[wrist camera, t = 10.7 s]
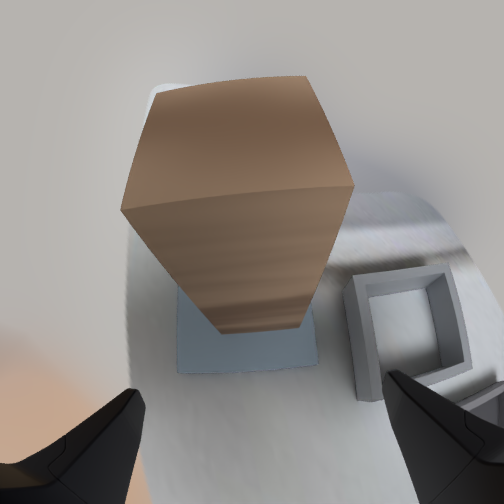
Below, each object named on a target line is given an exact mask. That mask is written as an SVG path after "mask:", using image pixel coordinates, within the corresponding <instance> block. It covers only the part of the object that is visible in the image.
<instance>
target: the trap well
mask: <svg viewBox="0 0 504 504" xmlns="http://www.w3.org/2000/svg"><path fill="white" fill-rule="evenodd" d="M455 404H457V405H458V406H460V407H462V408H463V409H464V410H467V411H469V412H471V413H472V414H474V415H476V416H478V417H480V418H482V419H484V420H486V421H488V422H491V423H493V424H495V425H498V426H500V427H503V428H504V381H500V382H497V383H495V384H493V385H491V386H489V387H487V388H485V389H484V390H482V391H480V392H478V393H476V394H474V395H472V396H470V397H468V398H465V399H463V400H461V401H459V402H457V403H455Z"/></svg>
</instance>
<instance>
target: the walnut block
mask: <svg viewBox="0 0 504 504" xmlns="http://www.w3.org/2000/svg"><path fill="white" fill-rule="evenodd" d="M353 189H354V183H353V180H352V178H351V175H350V172H349V170H348V167H347V164H346V162H345V159H344V157H343V154H342V152H341V150H340V147H339V145H338V142H337V140H336V138H335V135H334V133H333V131H332V129H331V126H330V124H329V122H328V120H327V118H326V116H325V113H324V111H323V109H322V107H321V105H320V103H319V101H318V99H317V97H316V95H315V93H314V91H313V89H312V87H311V85H310V83H309V81H308V79H307V77H306V76H284V77H263V78H251V79H239V80H230V81H222V82H214V83H207V84H201V85H195V86H189V87H184V88H179V89H174V90H169V91H165V92H160V93H156V96H155V98H154V101H153V104H152V106H151V109H150V111H149V114H148V117H147V120H146V123H145V125H144V128H143V131H142V134H141V137H140V140H139V143H138V147H137V150H136V153H135V156H134V160H133V163H132V167H131V170H130V173H129V177H128V181H127V185H126V189H125V193H124V196H123V201H122V205H121V212H122V213H123V214H124V216H125V217H126V218H127V220H128V221H129V223H130V224H131V225H132V227H133V228H134V229H135V231H136V232H137V233H138V235H139V236H140V237H141V239H142V240H143V241H144V243H145V244H146V245H147V247H148V248H149V249H150V250H151V252H152V253H153V254H154V256H155V257H156V258H157V259H158V261H159V262H160V263H161V264H162V266H163V267H164V268H165V269H166V271H167V272H168V273H169V274H170V276H171V277H172V278H173V279H174V280H175V282H176V283H177V284H178V285H179V286H180V288H181V289H182V290H183V291H184V292H185V294H186V295H187V296H188V297H189V298H190V299H191V301H192V302H193V303H194V304H195V305H196V306H197V308H198V309H199V310H200V311H201V312H202V313H203V314H204V316H205V317H206V318H207V319H208V320H209V321H210V322H211V323H212V325H213V326H214V327H215V328H216V329H217V330H218V331H219V332H220V333H221V335H223V334H239V333H252V332H264V331H274V330H284V329H294V328H299V327H300V325H301V323H302V321H303V318H304V316H305V314H306V312H307V309H308V307H309V305H310V302H311V300H312V298H313V295H314V293H315V290H316V288H317V286H318V283H319V281H320V278H321V276H322V273H323V271H324V268H325V266H326V263H327V261H328V258H329V256H330V253H331V250H332V248H333V245H334V243H335V240H336V237H337V235H338V232H339V229H340V226H341V224H342V221H343V218H344V215H345V212H346V209H347V207H348V204H349V201H350V198H351V195H352V192H353Z"/></svg>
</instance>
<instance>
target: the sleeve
mask: <svg viewBox="0 0 504 504" xmlns="http://www.w3.org/2000/svg"><path fill="white" fill-rule="evenodd" d="M422 288H426V290H427V294H428V298H429V302H430V306H431V310H432V315H433V319H434V324H435V329H436V334H437V339H438V345H439V351H440V357H441V364H442V368H439V369H436V370H433V371H430V372H427V373H424V374H420V375H417V376H414V377H411V378H412V379H414V380H416V381H417V382H419V383H421V384H423V385H424V386H429V385H432V384H435V383H438V382H441V381H443V380H446V379H449V378H451V377H454V376H456V375H459V374H461V373H464V372H466V371H468V370H471V369H473V367H472V360H471V353H470V347H469V341H468V336H467V331H466V326H465V321H464V317H463V312H462V308H461V304H460V300H459V296H458V293H457V289H456V285H455V282H454V279H453V275H452V272H451V269H450V266H449V263H442V264H435V265H428V266H421V267H414V268H407V269H399V270H392V271H384V272H376V273H368V274H360V275H353V276H352V277H351V279H350V280H349V282H348V283H347V285H346V286H345V288H344V289H343V291H342V294H343V300H344V305H345V311H346V317H347V323H348V330H349V336H350V343H351V350H352V358H353V365H354V374H355V383H356V392H357V401H367V402H375V401H379V400H383V399H384V397H383V393H382V382H381V374H380V366H379V359H378V352H377V345H376V339H375V333H374V327H373V321H372V316H371V311H370V305H369V300H368V297H374V296H380V295H387V294H393V293H399V292H405V291H411V290H417V289H422Z"/></svg>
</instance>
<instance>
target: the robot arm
mask: <svg viewBox="0 0 504 504" xmlns="http://www.w3.org/2000/svg"><path fill="white" fill-rule="evenodd" d="M382 393H383V397H384V401H385V404H386V408H387V412H388V415H389V419H390V423H391V426H392V429H393V431H394V434H395V437H396V439H397V442H398V444H399V447H400V450H401V452H402V455H403V457H404V460H405V463H406V466H407V468H408V471H409V474H410V477H411V480H412V483H413V486H414V488H415V491H416V494H417V497H418V500H419V504H504V428H503V427H500V426H498V425H495V424H493V423H491V422H488V421H486V420H484V419H482V418H480V417H478V416H476V415H474V414H472V413H471V412H469V411H467V410H464V409H463V408H462V407H460V406H458V405H457V404H455V403H453V402H451V401H450V400H448V399H446V398H445V397H443V396H441V395H439V394H438V393H436V392H434V391H433V390H431V389H429V388H428V387H426V386H424V385H423V384H421V383H419V382H417V381H416V380H414V379H412V378H411V377H409V376H408V375H406V374H404V373H403V372H401V371H399V370H397V369H395V370H390V371H387V372H386V374H385V378H384V382H383V385H382ZM145 409H146V407H145V403H144V401H143V398H142V396H141V394H140V392H139V391H138V390H137V389H131V388H128V389H126V390H125V391H123V392H122V393H121V394H119V395H118V396H117V397H115V398H114V399H113V400H112V401H110V402H109V403H107V404H106V405H105V406H103V407H102V408H101V409H99V410H98V411H97V412H95V413H94V414H93V415H91V416H90V417H89V418H87V419H86V420H85V421H83V422H82V423H80V424H79V425H78V426H76V427H75V428H74V429H72V430H71V431H70V432H68V433H67V434H66V435H64V436H62V437H61V438H59V439H58V440H57V441H55V442H54V443H52V444H51V445H49V446H47V447H46V448H44V449H42V450H41V451H39V452H37V453H35V454H33V455H31V456H29V457H27V458H26V459H24V460H22V461H20V462H17V463H13V464H5V463H0V504H125V500H126V496H127V492H128V488H129V483H130V479H131V476H132V472H133V468H134V464H135V460H136V456H137V453H138V449H139V445H140V441H141V435H142V428H143V422H144V415H145Z"/></svg>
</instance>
